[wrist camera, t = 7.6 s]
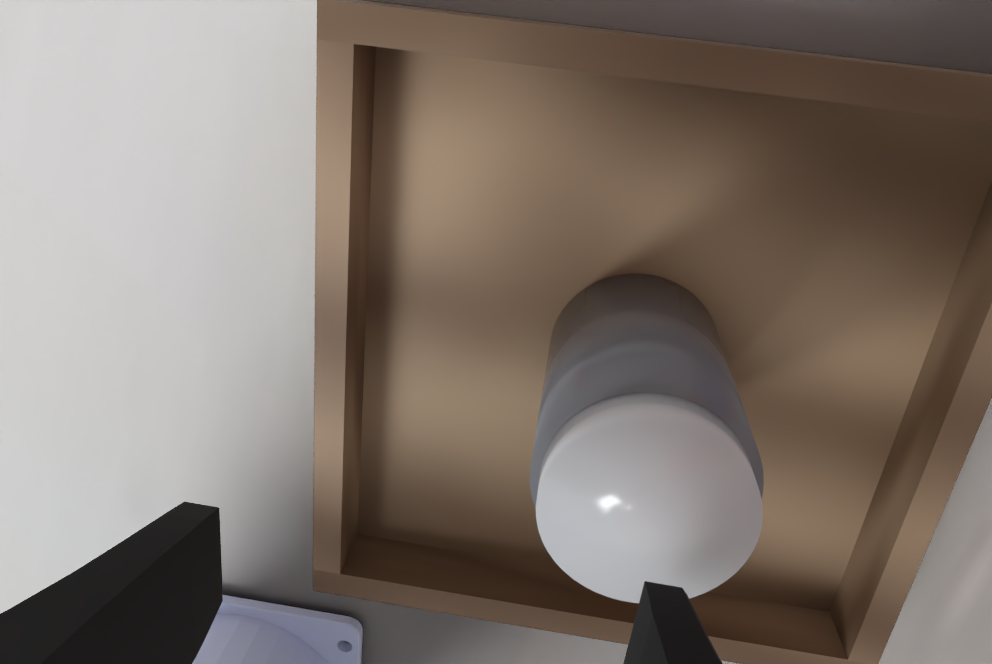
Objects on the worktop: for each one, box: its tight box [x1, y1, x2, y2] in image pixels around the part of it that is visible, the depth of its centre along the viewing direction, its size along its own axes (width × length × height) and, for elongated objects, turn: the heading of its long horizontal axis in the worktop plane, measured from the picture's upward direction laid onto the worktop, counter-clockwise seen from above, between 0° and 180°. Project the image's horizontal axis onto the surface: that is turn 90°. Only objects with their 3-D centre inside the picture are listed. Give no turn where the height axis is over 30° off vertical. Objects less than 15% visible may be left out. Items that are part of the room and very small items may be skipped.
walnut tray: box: [313, 0, 992, 664], centre depth 20 cm, size 16×16×2 cm
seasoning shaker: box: [530, 274, 764, 603], centre depth 17 cm, size 4×4×7 cm
